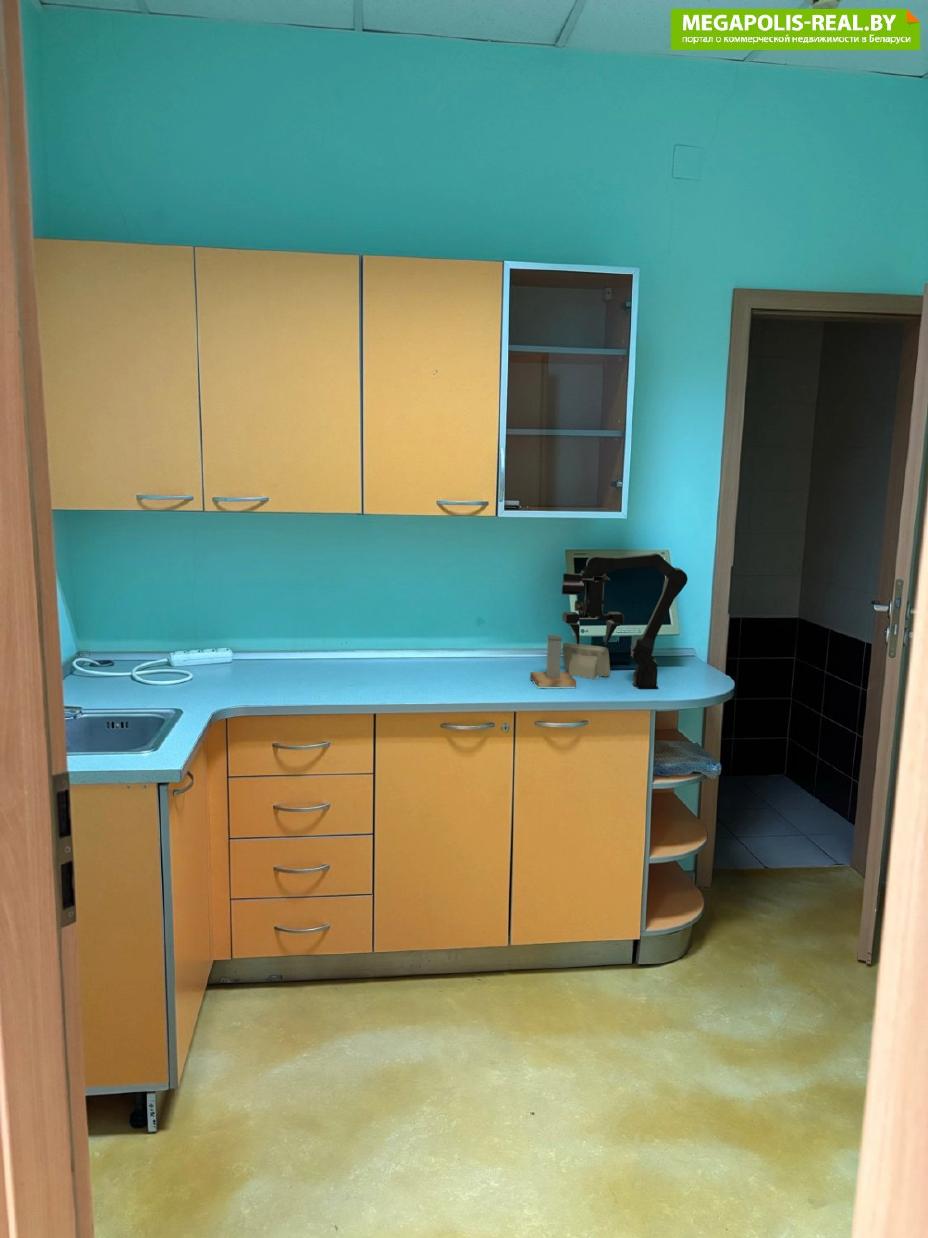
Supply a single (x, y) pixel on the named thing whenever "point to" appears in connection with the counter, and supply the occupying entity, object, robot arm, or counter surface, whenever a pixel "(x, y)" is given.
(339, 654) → the counter surface
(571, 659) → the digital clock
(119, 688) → the counter surface
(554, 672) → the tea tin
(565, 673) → the walnut board
